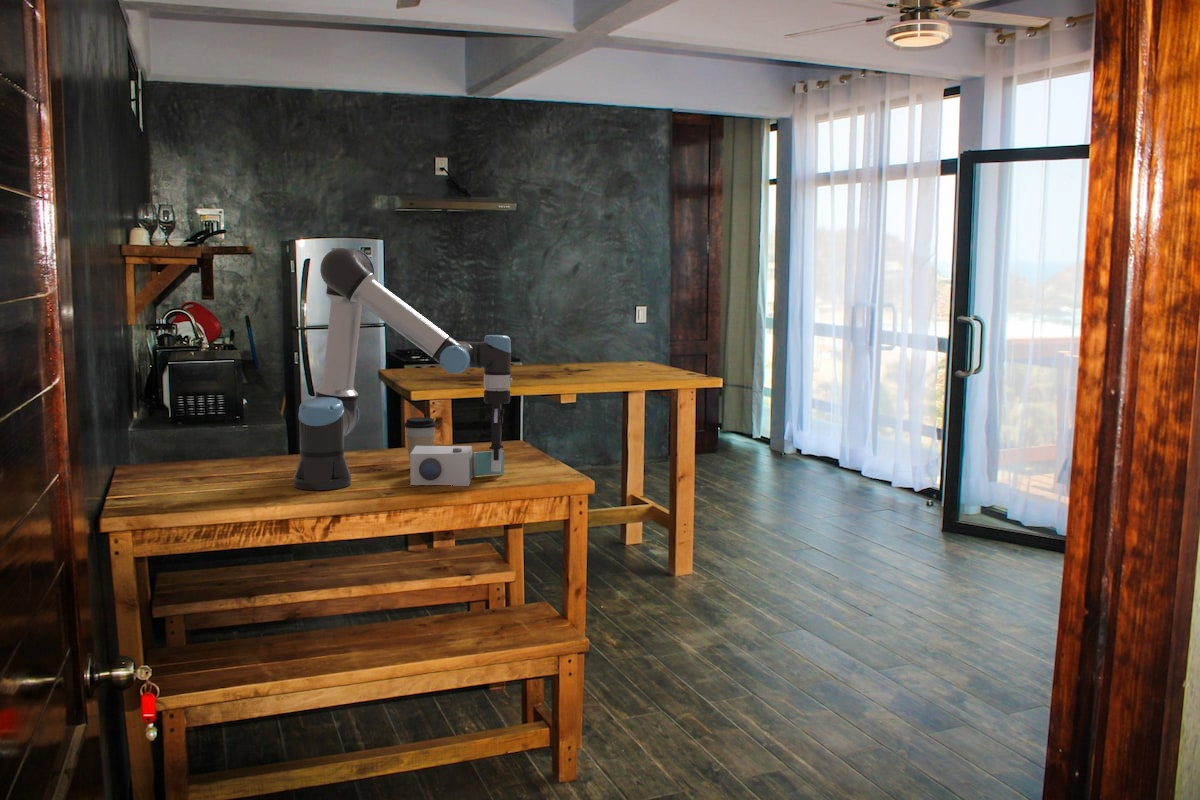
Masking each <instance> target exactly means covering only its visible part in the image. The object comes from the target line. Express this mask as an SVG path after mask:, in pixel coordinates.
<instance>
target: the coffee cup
mask: <svg viewBox="0 0 1200 800" xmlns="http://www.w3.org/2000/svg"><path fill="white" fill-rule="evenodd" d="M403 427H405V431H406V435H405V437H406V444H407V446H406V447H407V453H408V457H409V460H410V453H411V452H412V450H413V449H414V448H415V446H435V444H434V443H435V430H436V427H437V423H436V422H435V420H434V418H432V417H428V416H427V417H425V416H423V417H422V416H421V417H419V416H418V417H409V418H407V419H406V422H404V425H403Z"/></svg>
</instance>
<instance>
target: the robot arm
mask: <svg viewBox="0 0 1200 800" xmlns="http://www.w3.org/2000/svg"><path fill="white" fill-rule="evenodd" d="M375 273H376V269H375V265H374V263H373V261H372V259H371V257H369V256H368V254H366V253H365V252H363V251H362V250H360V249H355V248H343V247H342V248H341V247H340V248H335V249H332V250H330V251H329V252H327V253H326V254H325V255H324V257H323V258H322V260H321V263H320V274H321V275H320V276H321V278H322V280H323V282H324V284H325V285H326V290H325V292H326V293H325V294H326V297H328V299H329V300H330V310H329V318H328V327H327V329H328V330H327V336H326V337H327V338H326V347H325V356H324V357H325V358H324V364H323V365H324V366H323V367H324V368H323V375H322V376H323V377H322V385H320V386H319V387H318V388H316V390H315V397H312V398H308V399H305V400H304V401H302V402H301V403H300V404H299V408H298V414H297V416H298V417H297V418H298V427H299V429H298V430H299V431H298V432H299V434H298V435H299V460H298V464H297V467H296V470H295V473H294V476H293V487H295V488H296V489H298V490H299V489H300V490H306V491H327V490H328V491H329V490H338V489H342V488H346V487H349V486H350V485H351V484H352V476H351V471H350V469H349V466H348V464H347V460H346V458H345V439H344V438H345V437H346V436H348V435H350V434H351V433H352V432H354V430H355V428H356V427H357V425H358V422H359V419H360V410H359V407H358V399H359V393H358V392H357V390H355V387H354V384H355V375H356V368H357V366H356V365H357V355H358V347H359V338H360V337H359V336H360V327H361V319H362V318H361V317H362V311H363V310H362V309H363V307H364V309H366V310H368V311H369V312H370V313H372V314H373V315H375V316H376V317H377V318H378V319H380V320H381V321H383V322H384V323H385V324H387V325H388V326H389V327H391V328H392V329H393V330H395V332H397V333H398V334H400V335H401V336H402V337H404V338H405V339H407V340H408V341H410V343H412V344H413V345H415V346H416V347H417V348H419V349H420V350H422V351H423V352H424V353H425V354H427V355H428V356H430V357H431V358H432V359H434V361H435V362H437V363H438V364H440V367H442V369H443V370H444V371H445V372H446V373H449V374H453V375H454V374H455V375H456V374H461V373H463V372H464V371H466V370H467V369H484V370H483V388H484V391H483V402H484V404H487V405H488V404H489V405H492V408H490V409H489V416H490V421H489V423H490V426H491V445H490V446H489V447H488V450H491V451H492V455H491V471H497V472H501V450H502V449H504V445H503V444H502V443H503V442H502V434H503V433H502V429H503V428H502V427H503V424H504V415H505V409H504V408H502V405H507V404H510V402H511V391H510V390H509V389H510V388H511V382H513V378H512V377H511V371H512V370H511V369H512V347H511V346H512V344H511V343H512V340H511V338H510V337H509V336H508V335H503V334H502V335H500V334H487V335H485V336H484V339H483V341H460V340H459V341H457V340H456V339H454V338H452V337H451V336H450V335H448V334H447V333H446V332H445V331H444V330H442V329H441V328H439V327H438V326H437V325H435V324H434V323H433V322H432V321H430V320H429V319H427V317H425V316H423V315H422V314H421V313H419V312H418V311H417V310H415V309H414V308H413V307H412V306H410V305H409V304H408V303H406V302H405V301H404V300H402V299H401V298H400V297H398V296H397V295H396V294H394V293H393V292H391V291H390V290H389V289H388V288H386V287H385V286H384V285H382V284H381V283H379V282H378V281H377V280H376V279H375Z"/></svg>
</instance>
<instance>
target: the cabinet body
mask: <svg viewBox="0 0 1200 800" xmlns="http://www.w3.org/2000/svg"><path fill="white" fill-rule="evenodd" d="M472 452H473V446H472V445H434V446H415V448H414V449H413V450H412V452H411V453H410V459H409V465H410V470H409V471H410V473H409V474H410V486H411V485H451V486H450V487H469V486H470V485H469V484H470V483H471V480H472V478H473V477H472ZM452 485H453V486H452Z"/></svg>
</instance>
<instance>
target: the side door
mask: <svg viewBox="0 0 1200 800" xmlns="http://www.w3.org/2000/svg"><path fill="white" fill-rule="evenodd" d="M491 455H492V450H489V451H472V478H476V477H478V476H479V477H480V476H481V477H482V476H492V475H494V476H495V475H504V474H505V450H502V449H501V472H497V471H491Z"/></svg>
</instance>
